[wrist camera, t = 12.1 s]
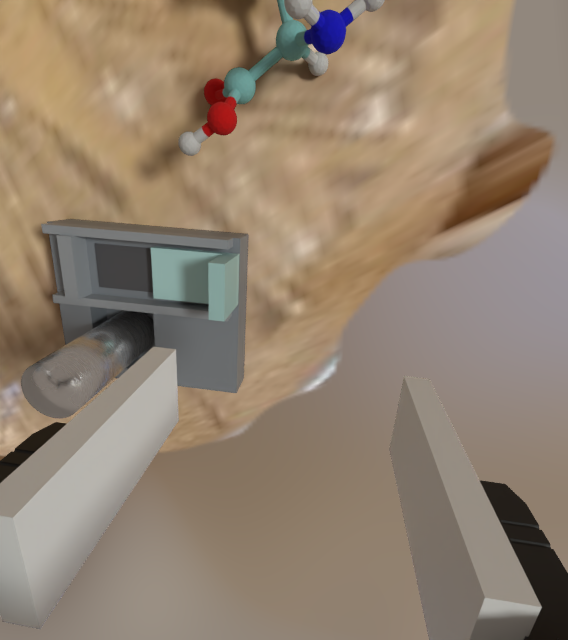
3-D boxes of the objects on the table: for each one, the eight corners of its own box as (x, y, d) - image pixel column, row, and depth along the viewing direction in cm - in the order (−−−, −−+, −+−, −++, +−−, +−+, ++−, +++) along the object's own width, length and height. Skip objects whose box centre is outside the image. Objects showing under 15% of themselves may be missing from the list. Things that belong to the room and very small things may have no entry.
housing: (88, 358, 33) (56, 381, 29) (70, 219, 29) (30, 224, 25) (243, 377, 32) (231, 404, 28) (248, 233, 28) (234, 241, 24)
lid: (157, 296, 27) (132, 311, 24) (154, 246, 26) (127, 255, 23) (238, 304, 27) (224, 321, 23) (239, 253, 25) (224, 264, 22)
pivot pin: (117, 346, 32) (27, 414, 22) (113, 306, 30) (15, 360, 21) (158, 351, 31) (84, 421, 22) (156, 310, 30) (75, 366, 21)
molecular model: (148, -125, 19) (181, -203, 12) (319, -77, 22) (426, -114, 15) (164, 128, 26) (191, 177, 18) (292, 134, 29) (356, 178, 22)
